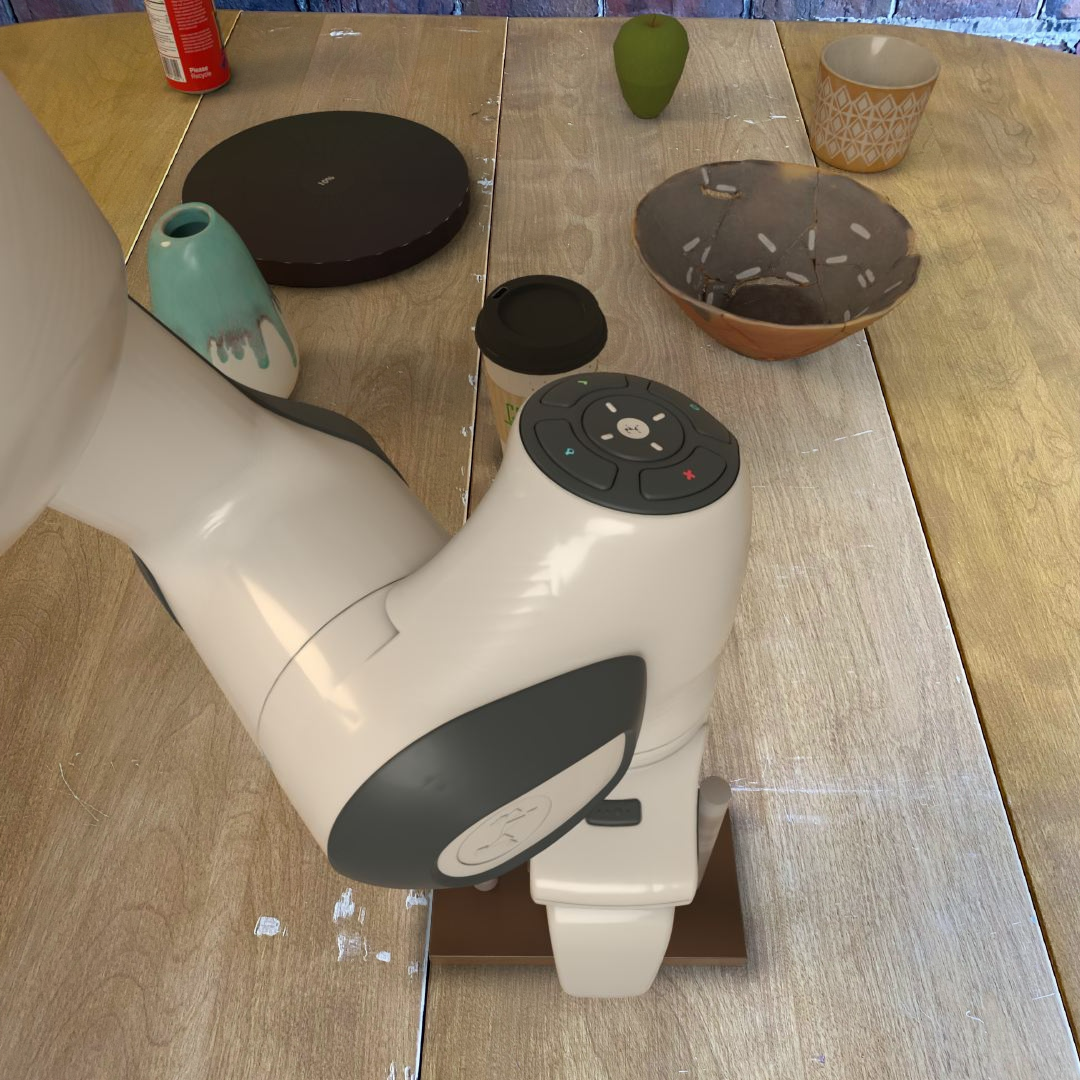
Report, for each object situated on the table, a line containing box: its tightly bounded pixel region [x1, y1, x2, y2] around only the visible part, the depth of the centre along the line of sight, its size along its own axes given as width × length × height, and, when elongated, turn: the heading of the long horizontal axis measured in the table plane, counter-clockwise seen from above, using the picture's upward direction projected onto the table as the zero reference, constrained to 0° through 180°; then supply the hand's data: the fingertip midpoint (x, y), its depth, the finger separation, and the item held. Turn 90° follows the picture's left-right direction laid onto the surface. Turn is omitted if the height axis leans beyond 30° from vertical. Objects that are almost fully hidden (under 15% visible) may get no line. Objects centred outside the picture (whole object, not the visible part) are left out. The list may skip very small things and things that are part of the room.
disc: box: [180, 110, 471, 288], centre depth 106 cm, size 30×30×3 cm
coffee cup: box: [474, 274, 609, 458], centre depth 77 cm, size 10×10×15 cm
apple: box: [612, 13, 690, 119], centre depth 115 cm, size 9×8×12 cm
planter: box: [809, 33, 942, 174], centre depth 110 cm, size 13×13×10 cm
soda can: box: [142, 0, 232, 95], centre depth 118 cm, size 8×8×15 cm
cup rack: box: [428, 775, 748, 967], centre depth 55 cm, size 9×18×14 cm, turn 90°
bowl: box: [630, 158, 923, 362], centre depth 90 cm, size 25×25×10 cm
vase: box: [146, 202, 300, 399], centre depth 80 cm, size 12×12×18 cm
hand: (592, 826), depth 53 cm, fingers closed on blue cup, 6 cm apart
